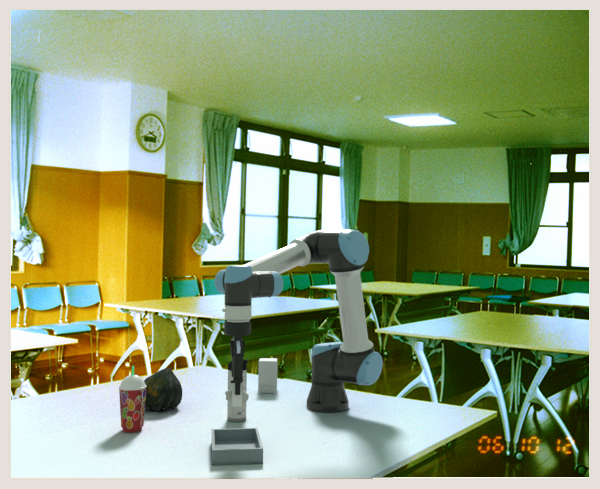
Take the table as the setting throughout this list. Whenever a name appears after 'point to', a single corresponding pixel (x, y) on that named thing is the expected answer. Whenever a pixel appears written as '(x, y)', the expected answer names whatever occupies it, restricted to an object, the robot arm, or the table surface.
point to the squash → (162, 390)
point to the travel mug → (233, 412)
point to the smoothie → (132, 403)
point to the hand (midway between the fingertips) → (236, 403)
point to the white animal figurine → (244, 395)
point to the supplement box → (267, 375)
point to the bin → (236, 446)
